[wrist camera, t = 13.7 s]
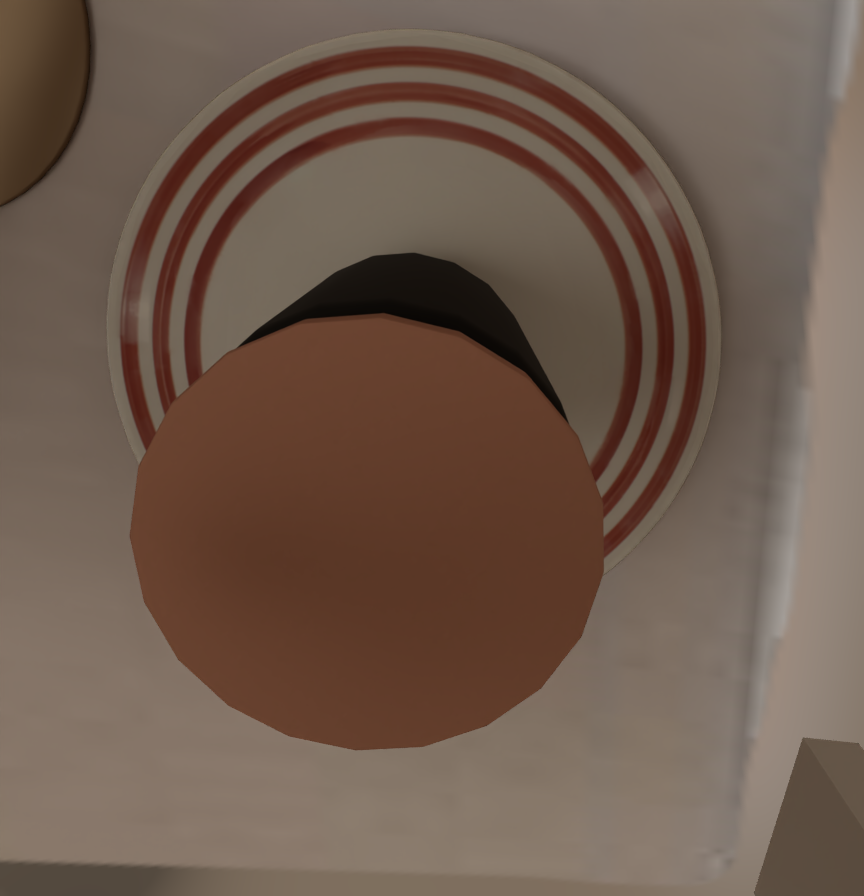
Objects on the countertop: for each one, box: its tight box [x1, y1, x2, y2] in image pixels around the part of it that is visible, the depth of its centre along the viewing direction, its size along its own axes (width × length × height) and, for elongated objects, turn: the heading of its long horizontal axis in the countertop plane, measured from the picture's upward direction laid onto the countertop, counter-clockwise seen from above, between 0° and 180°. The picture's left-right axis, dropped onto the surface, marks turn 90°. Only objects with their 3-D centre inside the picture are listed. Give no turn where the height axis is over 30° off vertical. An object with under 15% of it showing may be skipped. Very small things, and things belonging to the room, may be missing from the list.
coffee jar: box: [130, 252, 604, 750], centre depth 26 cm, size 11×11×18 cm
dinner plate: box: [106, 29, 722, 575], centre depth 36 cm, size 27×27×3 cm
